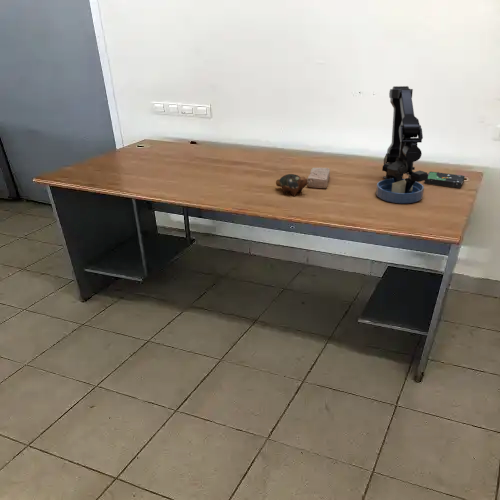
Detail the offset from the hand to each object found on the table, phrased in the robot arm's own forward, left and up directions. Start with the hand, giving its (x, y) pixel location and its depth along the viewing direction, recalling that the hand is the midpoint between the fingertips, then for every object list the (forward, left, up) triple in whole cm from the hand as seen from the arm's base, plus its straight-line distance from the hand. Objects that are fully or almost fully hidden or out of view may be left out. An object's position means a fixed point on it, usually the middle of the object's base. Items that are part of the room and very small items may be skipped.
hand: (402, 191), depth 206 cm
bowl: (0, -2, -2) cm, 2 cm away
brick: (-27, -25, -2) cm, 36 cm away
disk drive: (-7, +25, -2) cm, 26 cm away
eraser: (0, 0, -1) cm, 1 cm away
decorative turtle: (-20, -41, -2) cm, 45 cm away
